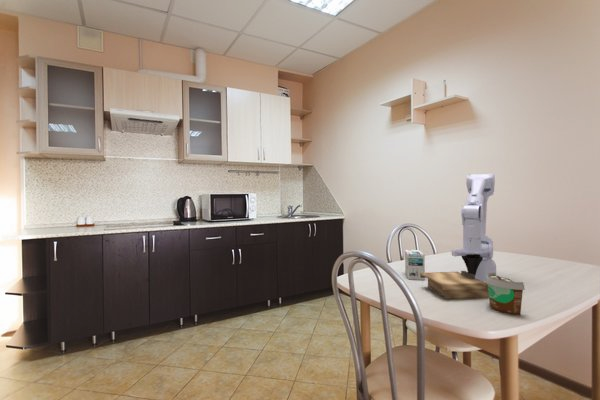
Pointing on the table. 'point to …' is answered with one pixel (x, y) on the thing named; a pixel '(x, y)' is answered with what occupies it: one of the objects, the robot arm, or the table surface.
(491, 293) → the food container
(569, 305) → the table surface
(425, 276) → the mailer lid
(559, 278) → the table surface
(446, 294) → the mailer box
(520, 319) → the table surface
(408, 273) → the light bulb box
